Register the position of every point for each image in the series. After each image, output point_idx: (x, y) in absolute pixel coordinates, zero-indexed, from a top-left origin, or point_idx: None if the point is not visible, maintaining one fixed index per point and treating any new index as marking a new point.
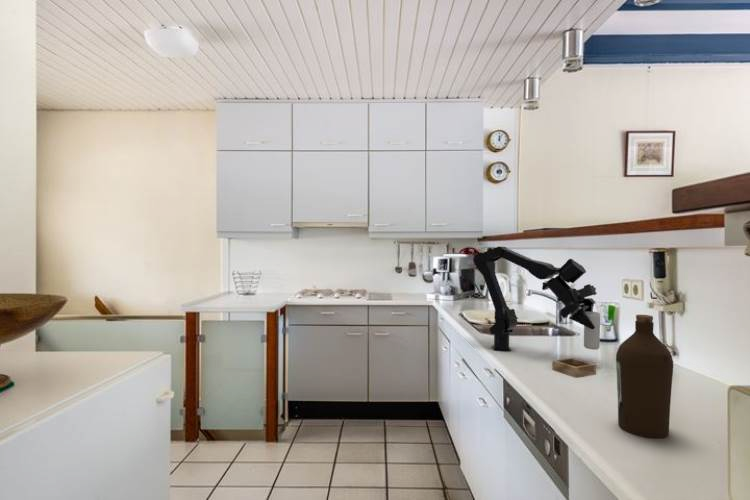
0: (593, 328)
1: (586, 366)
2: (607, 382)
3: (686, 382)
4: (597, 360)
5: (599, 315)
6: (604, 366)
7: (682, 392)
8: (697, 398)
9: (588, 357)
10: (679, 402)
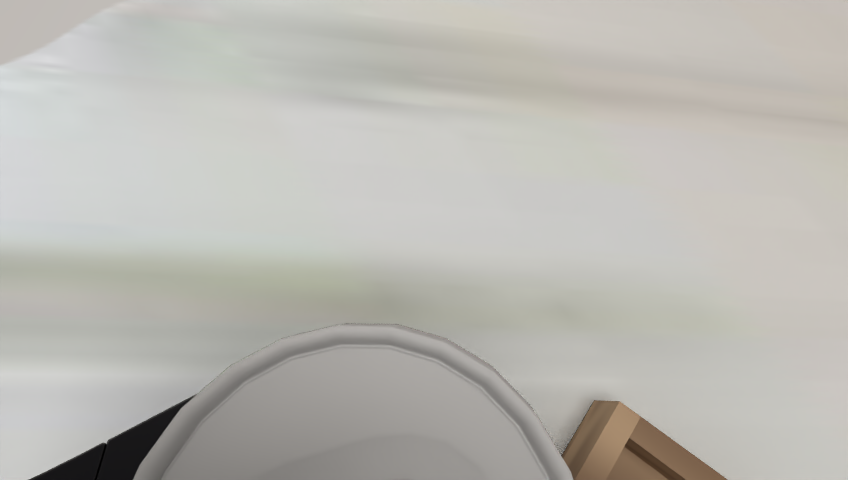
0: None
1: (715, 471)
2: (741, 337)
3: (490, 11)
4: None
5: (454, 343)
6: None
7: (672, 45)
8: (722, 13)
9: None
10: (834, 74)
